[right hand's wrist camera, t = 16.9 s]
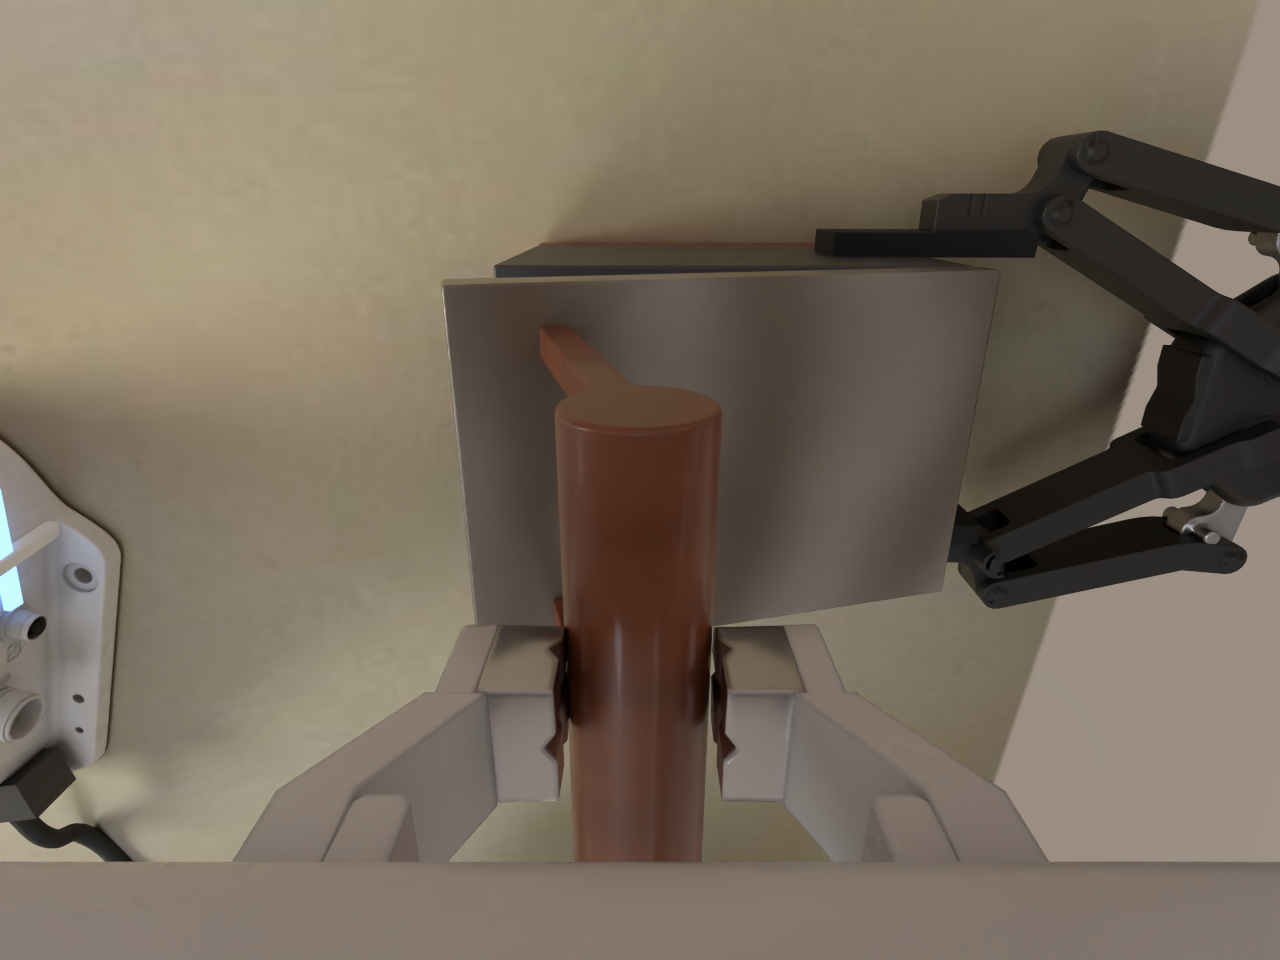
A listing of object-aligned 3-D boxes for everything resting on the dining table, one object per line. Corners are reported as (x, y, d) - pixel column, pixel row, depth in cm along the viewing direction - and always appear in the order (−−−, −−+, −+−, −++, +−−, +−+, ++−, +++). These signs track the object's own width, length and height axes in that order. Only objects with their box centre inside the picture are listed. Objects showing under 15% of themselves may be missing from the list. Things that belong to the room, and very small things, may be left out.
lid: (476, 637, 19) (509, 985, 11) (440, 279, 16) (447, 372, 7) (917, 572, 23) (1208, 796, 14) (969, 266, 19) (1398, 319, 11)
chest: (552, 457, 33) (515, 571, 23) (542, 242, 29) (492, 264, 19) (834, 457, 33) (921, 571, 23) (858, 243, 30) (974, 265, 19)
